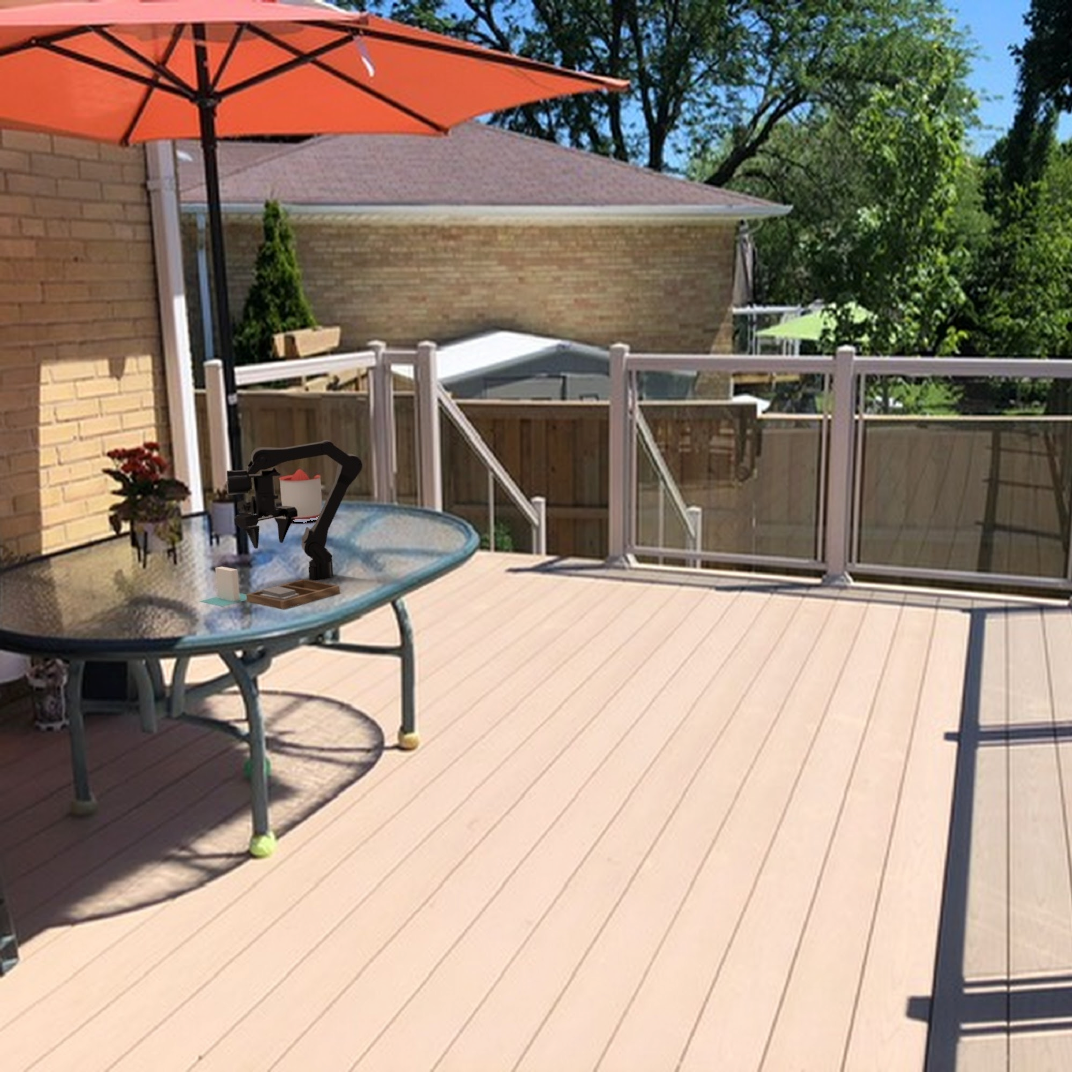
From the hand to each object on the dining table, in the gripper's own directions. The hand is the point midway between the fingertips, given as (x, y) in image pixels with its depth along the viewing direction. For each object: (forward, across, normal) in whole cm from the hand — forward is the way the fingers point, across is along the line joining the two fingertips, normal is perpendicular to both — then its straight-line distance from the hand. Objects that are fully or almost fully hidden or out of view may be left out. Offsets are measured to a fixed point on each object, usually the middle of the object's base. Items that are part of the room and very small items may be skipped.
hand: (268, 545), depth 319 cm
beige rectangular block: (+11, +19, +5) cm, 22 cm away
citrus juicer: (+12, -76, -73) cm, 106 cm away
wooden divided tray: (+12, +8, +19) cm, 24 cm away
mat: (+12, +19, +5) cm, 23 cm away
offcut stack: (+11, +13, +19) cm, 25 cm away
